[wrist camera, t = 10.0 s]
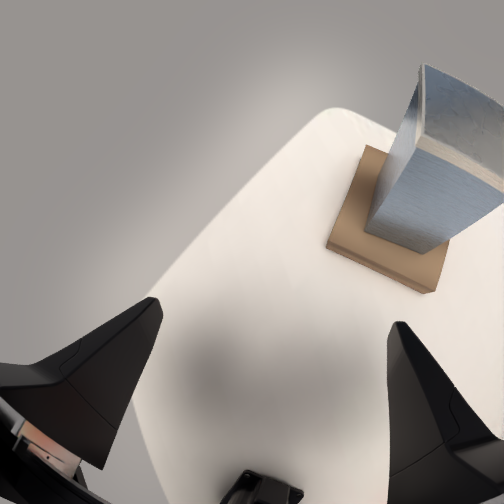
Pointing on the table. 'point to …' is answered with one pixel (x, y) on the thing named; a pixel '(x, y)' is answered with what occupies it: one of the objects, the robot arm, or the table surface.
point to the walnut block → (373, 247)
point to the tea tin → (440, 164)
